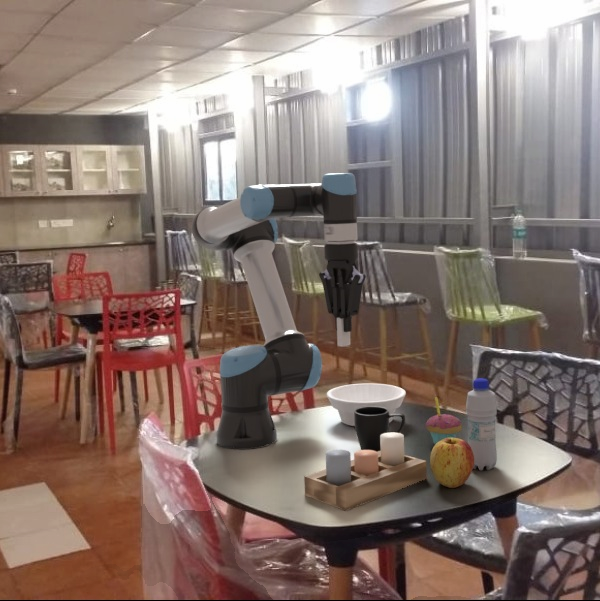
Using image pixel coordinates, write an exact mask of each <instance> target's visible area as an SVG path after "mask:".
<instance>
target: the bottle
mask: <svg viewBox="0 0 600 601" xmlns="http://www.w3.org/2000/svg"><path fill="white" fill-rule="evenodd" d="M472 389H473V390H470V391H468V392H467V398H466V404H465V409H466V412H465V414H466V416H467V443H468V444H469V445H470V447H471V449H472V451H473V455H474V466H473V469H472V470H476V469H477V468H478V469H479V471H484V467H486V470H487V471H490V470H492V469H493V468H495V467H496V465H497V460H498V456H497V455H498V454H497V444H496V417H497V413H498V412H497V410H498V404H497V398H496V392H494V391H492V390H491V389H490V382H489V380H488V379H487V378H483V377H481V378H480V377H479V378H475V379H474V380H473V383H472Z"/></svg>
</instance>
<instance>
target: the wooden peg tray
mask: <svg viewBox="0 0 600 601" xmlns="http://www.w3.org/2000/svg"><path fill="white" fill-rule="evenodd" d="M378 467H379V472H377V473H374V474H371V475H368V476H365V475H362V474H359V473H356V472H355V470H354V459H352V460H351V482H349V483H346V484H344V485H341V486H336V485H333V484H330V483H327V481H326V468H325V469H322V470H319V471H317V472H313V473H310V474H307V475H305V476H304V475H303V476H304V479H303V480H304V496H307V497H309V498H312V499H314V500H317V501H319V502H322V503H325V504H326V505H330V506H333V507H334V508H337V509H341V510H344V511H349V510H351V509H353V508H354V509H355V508H356V507H359V506H362V505H365V504H366V503H367V504H368V503H369V502H372V501H374V500H376V499H379V498H382V497H384V496H388V495H389V494H390V495H391V494H393V493H395V492H398V491H400V490H403V489H404V488H407V486H408V487H410V486H413V485H415V484H418V483H420V482H419V481H421V482H422V480H423V481H426V480H427V474H428V473H427V460H424V459H421V458H417V457H413V456H410V455H406V454H404V463H402V464H399V465H396V466H390V465H387V464H384V463H381V451H378ZM425 479H426V480H425ZM417 482H418V483H417ZM414 483H415V484H414ZM412 484H413V485H412ZM409 485H410V486H409ZM402 488H403V489H402ZM397 490H398V491H397Z"/></svg>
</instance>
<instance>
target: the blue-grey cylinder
mask: <svg viewBox="0 0 600 601" xmlns="http://www.w3.org/2000/svg"><path fill="white" fill-rule="evenodd" d="M351 455H352V454H351V452H350V451H349V450H346V449H331V450H328V451H326V452H325V469H326V481H327V483H330V484H333V485H336V486H341V485H344V484H346V483H349V482H351V459H352V458H351Z"/></svg>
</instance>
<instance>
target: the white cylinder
mask: <svg viewBox="0 0 600 601" xmlns="http://www.w3.org/2000/svg"><path fill="white" fill-rule="evenodd" d="M380 446H381V463H384V464H387V465H390V466H396V465H399V464H402V463H404V455H405V435H404V434H403V433H401V432H400V433H397V432H394V431H393V432H391V431H390V432H388V433H384V434H381V435H380Z"/></svg>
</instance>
